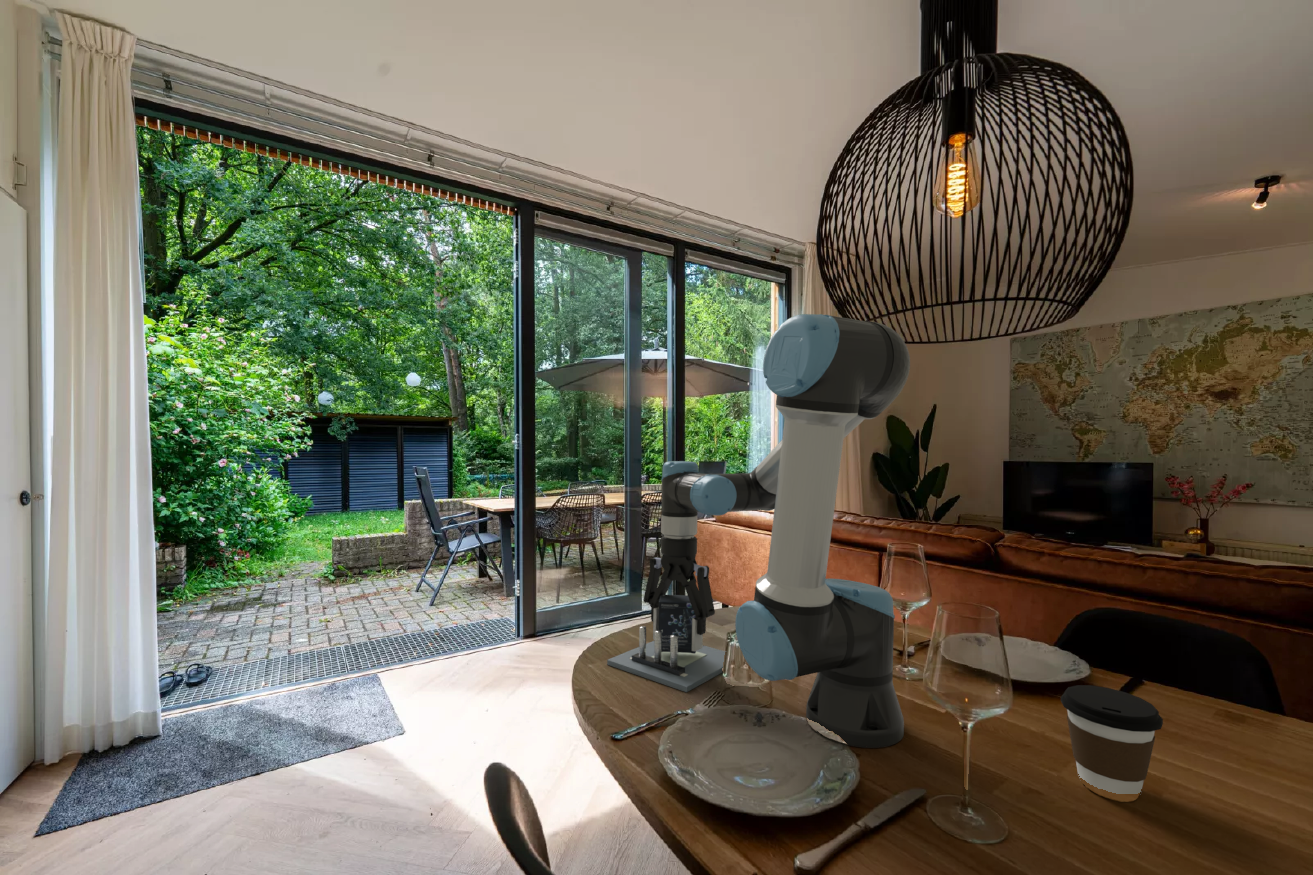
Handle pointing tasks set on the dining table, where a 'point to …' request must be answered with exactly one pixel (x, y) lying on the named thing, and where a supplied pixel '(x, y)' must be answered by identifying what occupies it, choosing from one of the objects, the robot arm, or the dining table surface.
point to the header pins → (658, 653)
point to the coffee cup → (1111, 736)
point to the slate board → (695, 664)
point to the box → (676, 622)
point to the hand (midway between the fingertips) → (677, 643)
